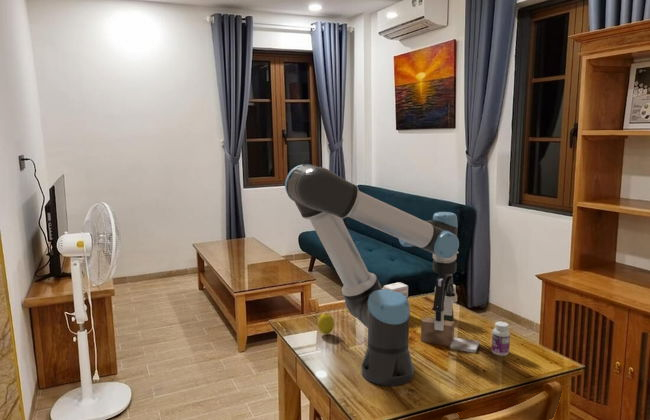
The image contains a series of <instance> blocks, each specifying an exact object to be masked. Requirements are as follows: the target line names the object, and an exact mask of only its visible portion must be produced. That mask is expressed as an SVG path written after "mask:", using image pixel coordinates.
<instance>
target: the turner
mask: <svg viewBox="0 0 650 420" xmlns="http://www.w3.org/2000/svg"><path fill="white" fill-rule="evenodd" d="M434 324H435V318H434V317H433V318H431V317H426V316H425V317H423V319H422V320H421V325H420V327H421V329H420V341H421V342H425V343H430V344H435V345H442V346H446V347H449V349H451V350H456V351H457V350H458V351H463V352H469V353H474V354H476V353H477V351H478V348H479V345H480V341H479V340H478V341H477V340H473V339H466V338H460V337H455V321H451V320H444V325H443V331H441V330H434Z"/></svg>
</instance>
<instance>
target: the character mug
mask: <svg viewBox="0 0 650 420" xmlns="http://www.w3.org/2000/svg"><path fill="white" fill-rule="evenodd" d="M453 286H454V293H455V296H451V297H453V299H452V316H449V315H444V320H446V321H451V320H453V319H454V306H453V304H455V303H458V294H457V291H456V289H457V287H456V286H457V285H456V284H454V283H453ZM435 288H436V286H435V287H434V289H435ZM445 296H446V295H445ZM443 311H444V306H443Z"/></svg>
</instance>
